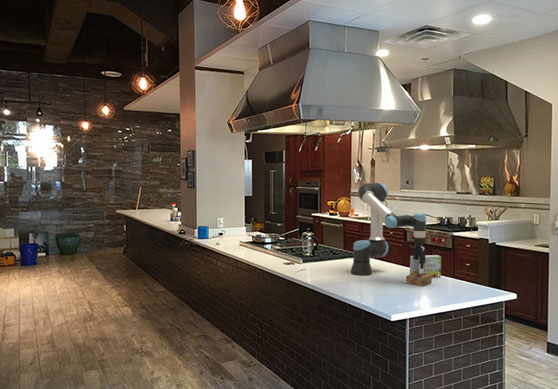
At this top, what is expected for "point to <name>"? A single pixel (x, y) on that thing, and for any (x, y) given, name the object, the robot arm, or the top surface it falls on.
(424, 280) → the block
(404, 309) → the top surface
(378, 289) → the top surface
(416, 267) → the cap
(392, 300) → the top surface
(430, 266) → the snack box
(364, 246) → the robot arm
